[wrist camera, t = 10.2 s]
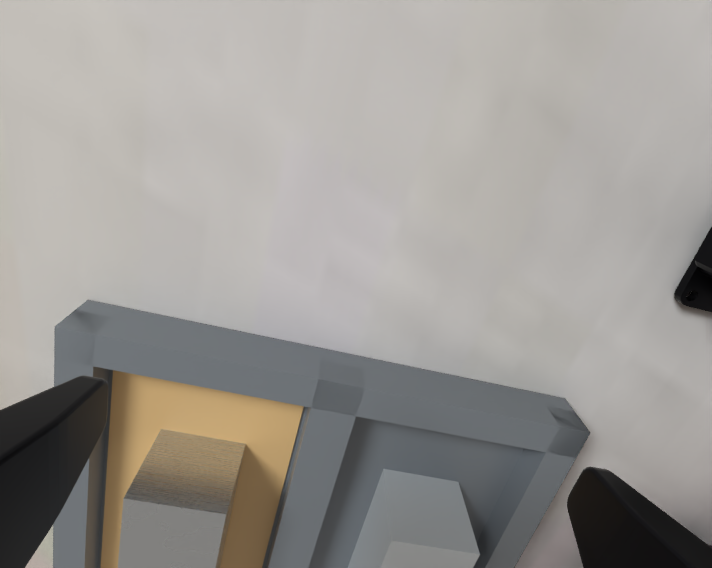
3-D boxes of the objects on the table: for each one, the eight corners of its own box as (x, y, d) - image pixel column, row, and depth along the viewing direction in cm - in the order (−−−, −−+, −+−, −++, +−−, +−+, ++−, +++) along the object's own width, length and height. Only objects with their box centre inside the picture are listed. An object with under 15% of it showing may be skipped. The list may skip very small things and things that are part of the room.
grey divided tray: (565, 398, 23) (621, 475, 18) (434, 650, 31) (450, 749, 26) (87, 299, 20) (11, 361, 15) (76, 604, 28) (23, 706, 23)
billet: (245, 443, 22) (226, 514, 18) (217, 580, 26) (196, 661, 22) (161, 428, 21) (123, 498, 18) (144, 569, 25) (110, 651, 21)
